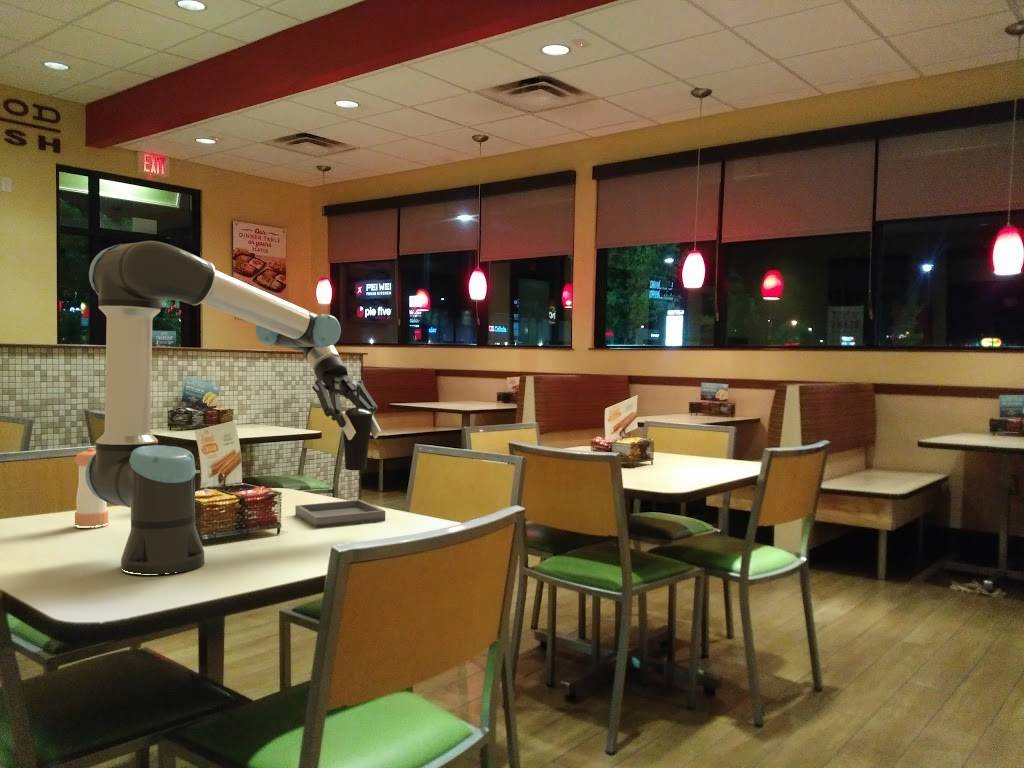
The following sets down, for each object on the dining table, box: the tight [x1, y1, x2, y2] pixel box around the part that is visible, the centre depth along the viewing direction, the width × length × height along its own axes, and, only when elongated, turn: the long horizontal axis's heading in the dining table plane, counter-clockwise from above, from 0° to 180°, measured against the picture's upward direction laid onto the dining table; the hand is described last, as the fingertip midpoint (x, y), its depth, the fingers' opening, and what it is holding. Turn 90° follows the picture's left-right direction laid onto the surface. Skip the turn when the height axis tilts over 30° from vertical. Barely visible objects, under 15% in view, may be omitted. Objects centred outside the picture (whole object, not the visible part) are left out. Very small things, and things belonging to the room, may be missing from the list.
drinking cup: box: [341, 386, 375, 471], centre depth 188 cm, size 8×8×20 cm
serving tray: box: [295, 499, 386, 529], centre depth 204 cm, size 18×18×2 cm
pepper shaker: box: [74, 447, 109, 526], centre depth 191 cm, size 7×7×19 cm
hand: (365, 435), depth 186 cm, fingers closed on drinking cup, 7 cm apart
